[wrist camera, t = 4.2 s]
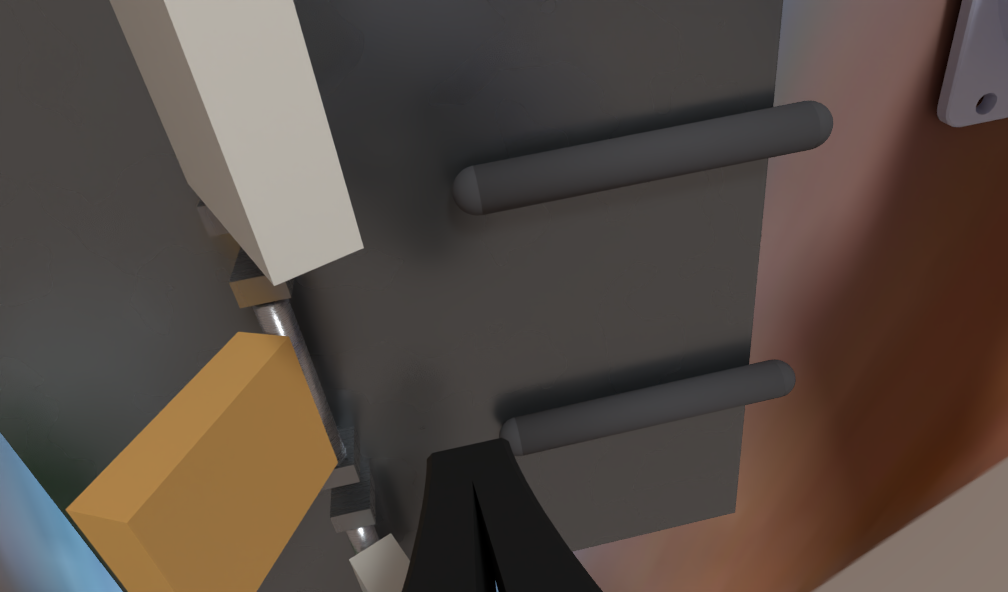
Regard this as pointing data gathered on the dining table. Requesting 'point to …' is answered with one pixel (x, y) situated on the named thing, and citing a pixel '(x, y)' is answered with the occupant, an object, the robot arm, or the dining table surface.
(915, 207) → the dining table surface
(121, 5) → the ivory paddle
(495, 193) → the cords
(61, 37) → the panel
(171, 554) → the orange paddle
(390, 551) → the ivory paddle
